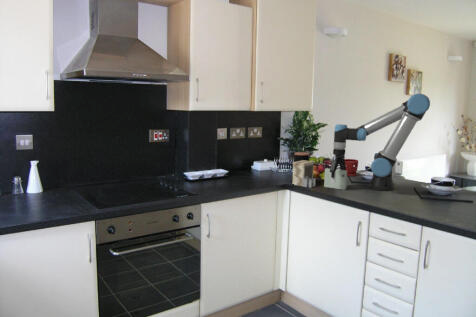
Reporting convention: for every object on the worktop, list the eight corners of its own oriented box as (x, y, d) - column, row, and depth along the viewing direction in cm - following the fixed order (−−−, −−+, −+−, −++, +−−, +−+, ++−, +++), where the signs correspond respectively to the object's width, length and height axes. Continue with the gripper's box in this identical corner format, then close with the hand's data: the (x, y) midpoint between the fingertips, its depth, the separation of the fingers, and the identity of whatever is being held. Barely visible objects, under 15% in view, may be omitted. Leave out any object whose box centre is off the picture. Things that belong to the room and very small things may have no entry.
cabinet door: (346, 189, 253) (347, 170, 251) (343, 190, 250) (344, 171, 248) (326, 186, 261) (326, 168, 260) (323, 186, 258) (324, 168, 256)
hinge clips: (315, 186, 260) (315, 177, 259) (310, 187, 255) (311, 178, 254) (306, 184, 263) (307, 176, 262) (302, 186, 258) (302, 177, 258)
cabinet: (313, 183, 270) (314, 161, 268) (303, 186, 258) (304, 163, 256) (302, 181, 275) (302, 160, 273) (291, 184, 264) (292, 162, 261)
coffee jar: (309, 179, 284) (310, 154, 282) (294, 178, 284) (295, 154, 282) (307, 176, 295) (308, 152, 292) (292, 175, 295) (293, 152, 292)
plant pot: (346, 173, 312) (347, 158, 310) (360, 175, 302) (361, 160, 300) (336, 174, 304) (337, 159, 302) (350, 177, 294) (351, 161, 292)
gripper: (341, 146, 264) (339, 177, 267) (325, 149, 244) (323, 183, 247) (352, 147, 259) (350, 179, 262) (337, 150, 239) (334, 184, 242)
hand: (337, 181), depth 254 cm, fingers open, 13 cm apart
